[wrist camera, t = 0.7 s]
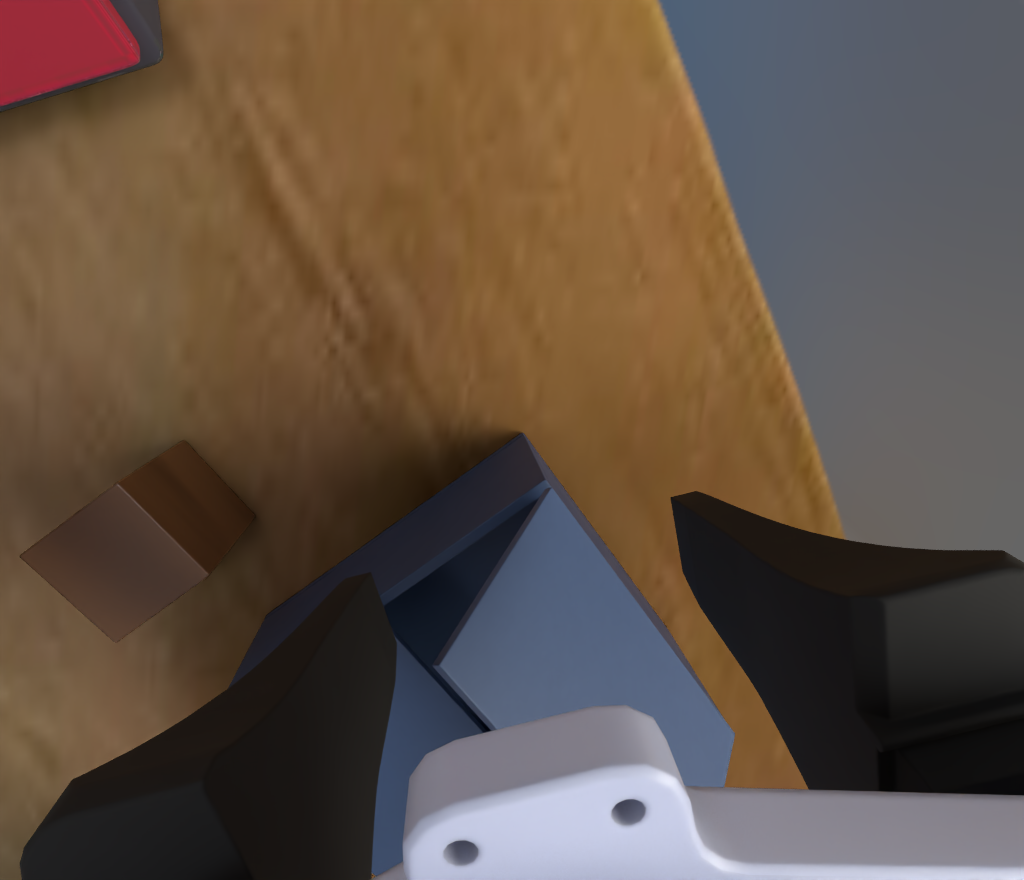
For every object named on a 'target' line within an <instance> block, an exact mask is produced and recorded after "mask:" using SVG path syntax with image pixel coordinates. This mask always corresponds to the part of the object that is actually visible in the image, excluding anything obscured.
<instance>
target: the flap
mask: <svg viewBox="0 0 1024 880" xmlns="http://www.w3.org/2000/svg"><path fill="white" fill-rule="evenodd" d="M432 666H433V667H434V668H435V669H436V671H437V672H438V673H439V674H440V675H441V676H442V677H443V678H444V679H445V680H446V682H447V683H448V684H449V685H450V686H451V687H452V688H453V689H454V690H455V691H456V692H457V694H458V695H459V696H460V697H461V698H462V699H463V700H464V701H465V702H466V703H467V705H468V706H469V707H470V708H471V709H472V710H473V711H474V712H475V713H476V714H477V715H478V717H479V718H480V719H481V720H482V721H483V722H484V723H485V724H486V725H487V726H488V728H489V729H490V730H491V731H494V730H498V729H502V728H506V727H510V726H514V725H518V724H523V723H527V722H531V721H535V720H539V719H543V718H547V717H551V716H555V715H559V714H563V713H567V712H571V711H576V710H580V709H584V708H588V707H592V706H615V705H627V706H629V707H631V708H634V709H636V710H638V711H640V712H642V713H644V714H646V715H649V716H651V717H653V718H654V720H655V721H656V723H657V725H658V727H659V728H660V730H661V732H662V733H663V735H664V737H665V738H666V740H667V743H668V745H669V748H670V750H671V753H672V755H673V758H674V760H675V763H676V765H677V768H678V771H679V773H680V776H681V778H682V781H683V783H684V785H685V786H697V787H724V785H725V780H726V775H727V770H728V765H729V760H730V756H731V751H732V746H733V741H734V736H735V733H734V732H733V731H732V729H731V728H730V727H729V725H728V724H727V723H726V721H725V720H724V719H723V717H722V716H721V714H720V713H719V712H718V710H717V709H716V708H715V706H714V705H713V704H712V702H711V701H710V700H709V698H708V697H707V696H706V694H705V693H704V692H703V690H702V689H701V688H700V686H699V685H698V683H697V682H696V681H695V679H694V678H693V677H692V675H691V674H690V673H689V671H688V670H687V669H686V667H685V666H684V665H683V663H682V662H681V661H680V659H679V658H678V657H677V655H676V654H675V652H674V651H673V650H672V648H671V647H670V646H669V644H668V643H667V642H666V640H665V639H664V638H663V636H662V635H661V634H660V632H659V631H658V630H657V628H656V627H655V625H654V624H653V623H652V621H651V620H650V619H649V617H648V616H647V615H646V613H645V612H644V611H643V609H642V608H641V607H640V605H639V604H638V603H637V601H636V600H635V599H634V597H633V596H632V594H631V593H630V592H629V590H628V589H627V588H626V586H625V585H624V584H623V582H622V581H621V580H620V578H619V577H618V576H617V574H616V573H615V572H614V570H613V569H612V568H611V566H610V565H609V563H608V562H607V561H606V559H605V558H604V557H603V555H602V554H601V553H600V551H599V550H598V549H597V547H596V546H595V545H594V543H593V542H592V541H591V539H590V538H589V537H588V535H587V534H586V532H585V531H584V530H583V528H582V527H581V526H580V524H579V523H578V522H577V520H576V519H575V518H574V516H573V515H572V514H571V512H570V511H569V510H568V508H567V507H566V506H565V504H564V503H563V501H562V500H561V499H560V497H559V496H558V495H557V493H556V492H555V491H554V489H553V488H552V487H550V488H547V489H545V490H544V492H543V493H542V495H541V496H540V498H539V499H538V501H537V502H536V504H535V506H534V507H533V509H532V510H531V512H530V513H529V515H528V516H527V518H526V520H525V521H524V523H523V524H522V526H521V527H520V529H519V531H518V532H517V534H516V535H515V537H514V538H513V540H512V541H511V543H510V545H509V546H508V548H507V549H506V551H505V552H504V554H503V555H502V557H501V559H500V560H499V562H498V563H497V565H496V566H495V568H494V569H493V571H492V573H491V574H490V576H489V577H488V579H487V580H486V582H485V584H484V585H483V587H482V588H481V590H480V591H479V593H478V594H477V596H476V598H475V599H474V601H473V602H472V604H471V605H470V607H469V608H468V610H467V612H466V613H465V615H464V616H463V618H462V619H461V621H460V622H459V624H458V626H457V627H456V629H455V630H454V632H453V633H452V635H451V637H450V638H449V640H448V641H447V643H446V644H445V646H444V647H443V649H442V651H441V652H440V654H439V655H438V657H437V658H436V660H435V661H434V663H433V665H432Z"/></svg>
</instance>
